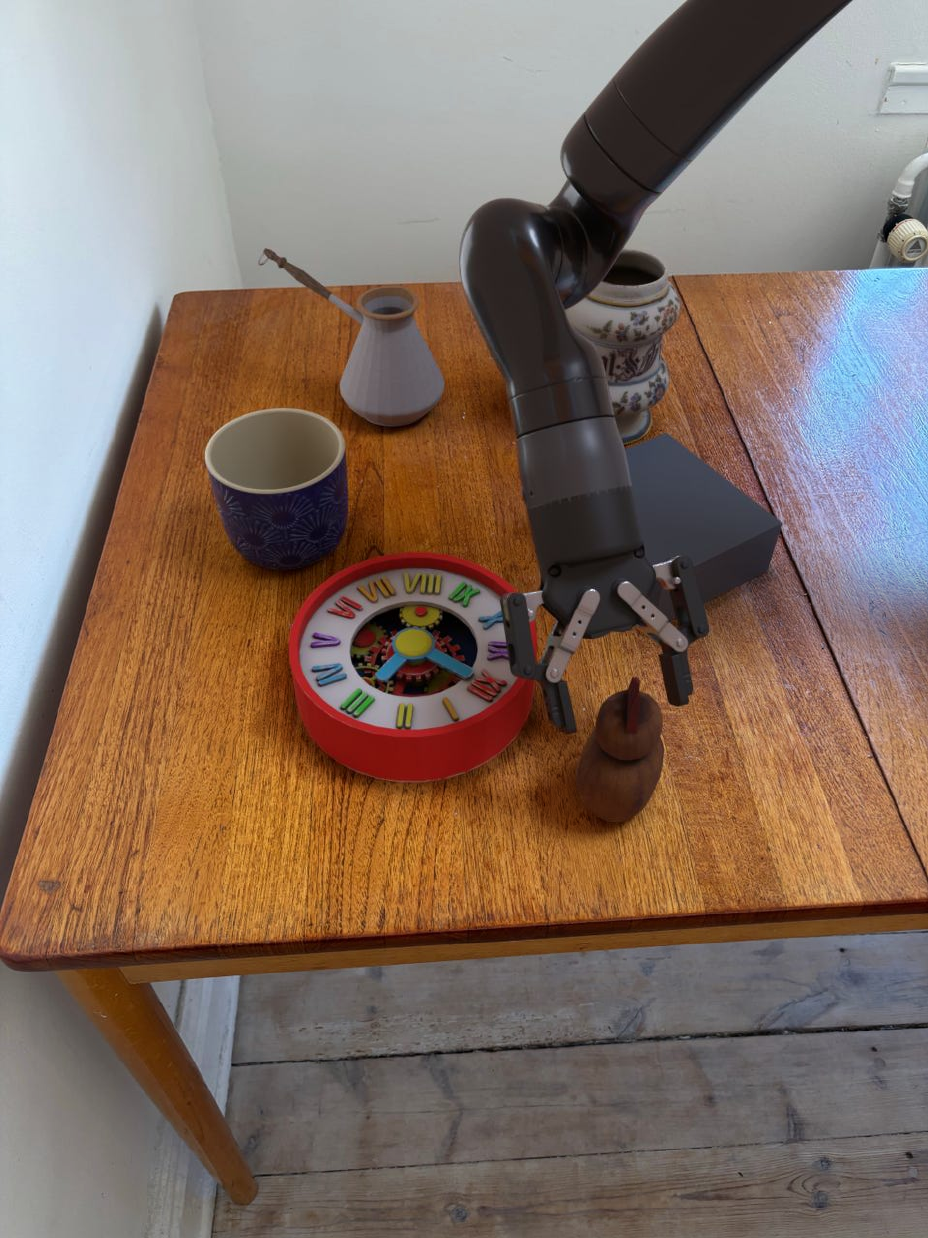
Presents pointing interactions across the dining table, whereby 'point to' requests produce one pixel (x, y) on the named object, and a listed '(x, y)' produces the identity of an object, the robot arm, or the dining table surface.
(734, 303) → the dining table surface
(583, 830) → the dining table surface
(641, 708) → the wooden figurine
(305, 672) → the toy clock
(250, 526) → the planter
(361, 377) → the coffee pot
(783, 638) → the dining table surface
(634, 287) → the apothecary jar
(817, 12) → the robot arm
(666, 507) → the grey display pedestal
